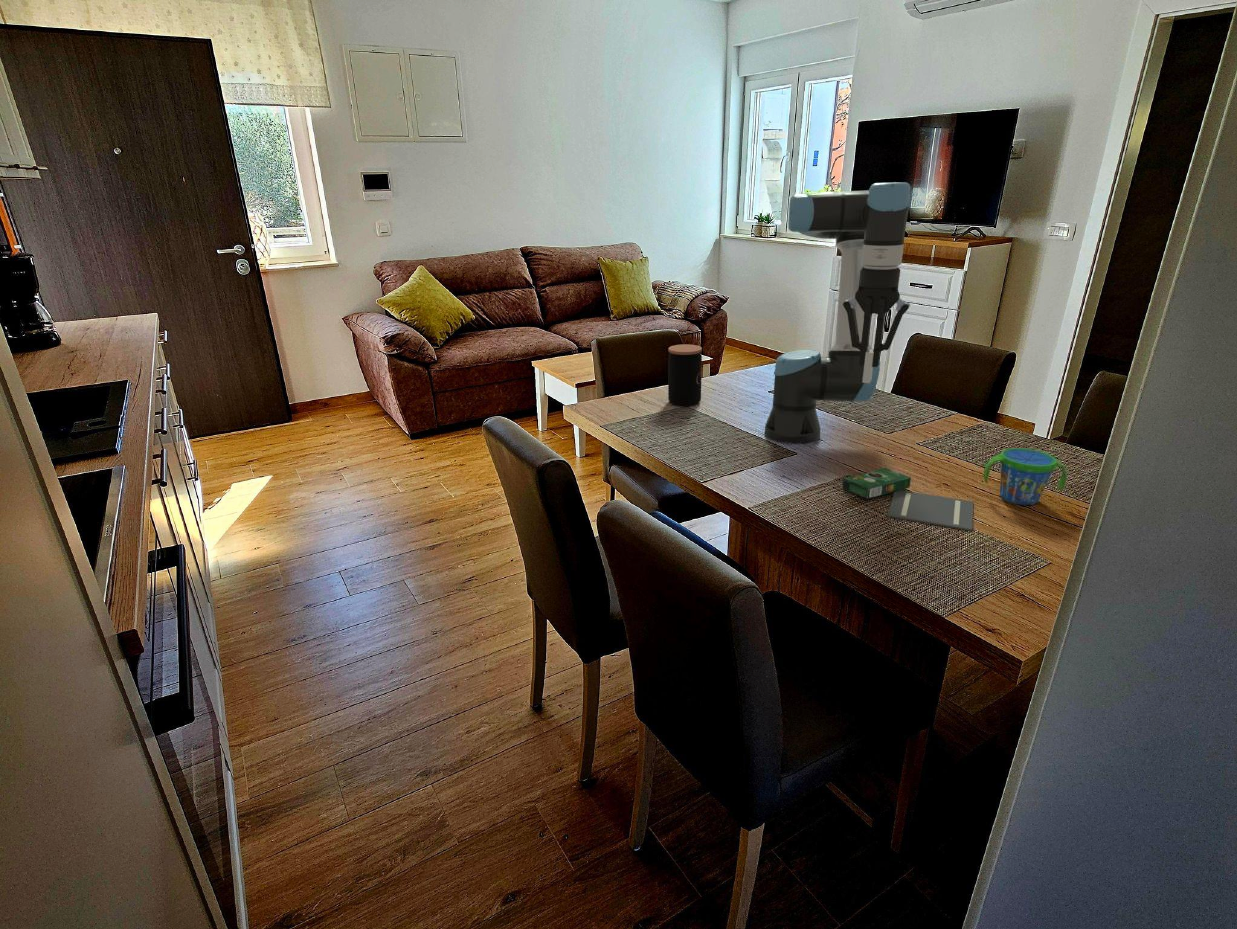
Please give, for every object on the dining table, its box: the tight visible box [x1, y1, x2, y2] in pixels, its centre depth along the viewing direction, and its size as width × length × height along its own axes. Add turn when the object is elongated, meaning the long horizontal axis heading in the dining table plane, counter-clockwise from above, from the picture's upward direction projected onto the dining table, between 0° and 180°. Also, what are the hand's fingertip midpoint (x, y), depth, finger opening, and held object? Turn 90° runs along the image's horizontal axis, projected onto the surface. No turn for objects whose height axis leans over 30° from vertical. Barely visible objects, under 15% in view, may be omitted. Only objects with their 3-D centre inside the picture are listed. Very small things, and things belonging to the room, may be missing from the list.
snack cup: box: [983, 447, 1068, 506], centre depth 146 cm, size 16×10×10 cm
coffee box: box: [842, 467, 912, 499], centre depth 154 cm, size 8×3×13 cm
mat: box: [887, 489, 974, 532], centre depth 144 cm, size 16×14×1 cm
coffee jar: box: [667, 343, 703, 408], centre depth 216 cm, size 11×11×18 cm
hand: (866, 381), depth 143 cm, fingers closed
